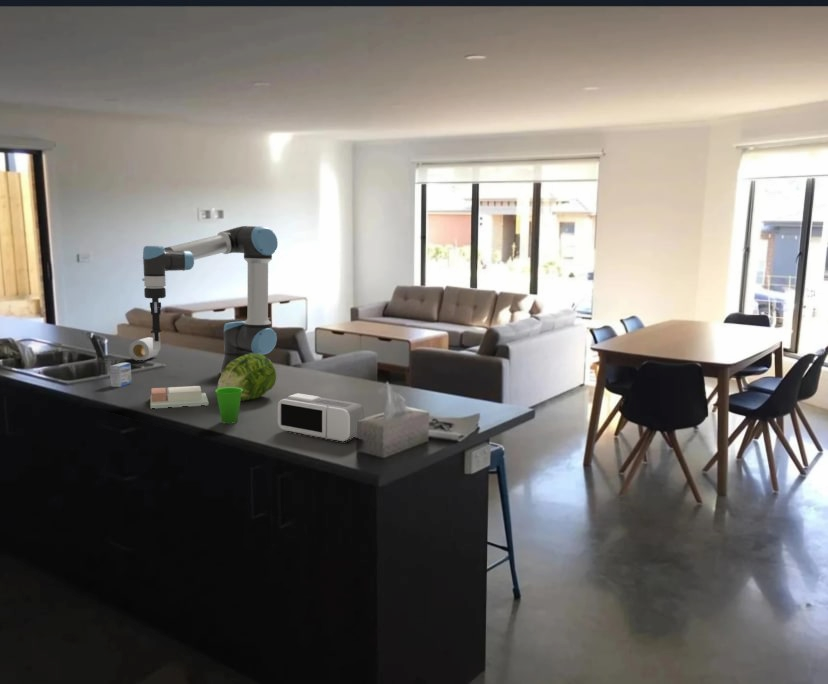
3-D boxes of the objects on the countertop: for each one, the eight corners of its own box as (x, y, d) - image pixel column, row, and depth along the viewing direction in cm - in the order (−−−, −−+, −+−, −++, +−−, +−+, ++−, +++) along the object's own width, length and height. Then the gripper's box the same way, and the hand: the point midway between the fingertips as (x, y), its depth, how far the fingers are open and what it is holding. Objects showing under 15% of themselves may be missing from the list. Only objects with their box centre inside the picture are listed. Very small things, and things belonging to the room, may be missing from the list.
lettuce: (205, 401, 275) (204, 360, 269) (250, 381, 294) (251, 342, 287) (238, 417, 267) (238, 375, 260) (282, 396, 285) (284, 356, 279)
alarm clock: (277, 432, 237) (277, 396, 235) (294, 425, 245) (294, 390, 244) (348, 445, 225) (348, 408, 223) (364, 438, 233) (364, 401, 231)
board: (205, 395, 282) (205, 392, 282) (208, 405, 269) (208, 402, 268) (150, 399, 276) (150, 395, 275) (150, 408, 262) (150, 405, 262)
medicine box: (120, 387, 293) (119, 366, 292) (110, 386, 294) (109, 365, 293) (131, 383, 301) (130, 362, 299) (121, 382, 302) (121, 362, 300)
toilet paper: (140, 356, 358) (139, 336, 356) (159, 357, 357) (159, 337, 355) (129, 360, 348) (128, 339, 347) (149, 361, 347) (148, 340, 345)
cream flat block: (200, 393, 281) (199, 385, 281) (201, 398, 273) (201, 390, 272) (167, 395, 277) (166, 387, 277) (167, 400, 269) (167, 392, 268)
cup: (218, 418, 252) (217, 386, 250) (245, 418, 252) (244, 387, 251) (213, 425, 243) (212, 393, 241) (241, 425, 244) (240, 393, 242)
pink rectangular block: (165, 395, 277) (165, 387, 276) (166, 400, 269) (166, 392, 268) (151, 396, 275) (151, 388, 275) (151, 401, 267) (151, 393, 266)
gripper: (144, 285, 279) (146, 346, 283) (144, 288, 267) (146, 352, 271) (165, 285, 281) (166, 346, 285) (165, 288, 269) (167, 351, 273)
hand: (156, 349), depth 278 cm, fingers closed
